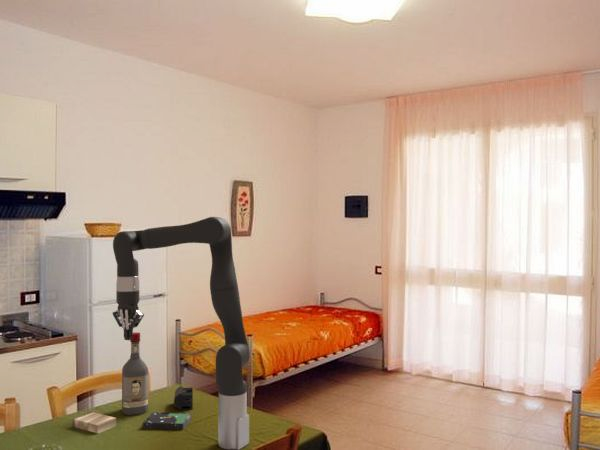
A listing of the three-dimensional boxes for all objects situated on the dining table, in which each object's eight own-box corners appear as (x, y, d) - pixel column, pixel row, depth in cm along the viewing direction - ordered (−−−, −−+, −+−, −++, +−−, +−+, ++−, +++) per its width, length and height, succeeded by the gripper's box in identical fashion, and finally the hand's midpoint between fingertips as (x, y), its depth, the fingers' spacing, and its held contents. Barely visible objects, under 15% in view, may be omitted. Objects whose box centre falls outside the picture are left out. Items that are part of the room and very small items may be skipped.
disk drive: (142, 430, 184) (183, 431, 184) (142, 422, 184) (183, 423, 184) (152, 419, 195) (191, 420, 194) (152, 412, 195) (191, 412, 194)
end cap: (174, 402, 211) (174, 386, 211) (192, 401, 213) (192, 385, 213) (173, 411, 202) (173, 394, 202) (192, 410, 203) (192, 392, 203)
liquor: (121, 408, 204) (121, 332, 204) (145, 405, 208) (146, 330, 208) (123, 416, 196) (123, 336, 196) (148, 413, 199) (148, 334, 199)
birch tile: (116, 417, 187) (91, 411, 193) (98, 425, 180) (72, 418, 186) (116, 426, 187) (91, 419, 193) (98, 434, 180) (72, 427, 186)
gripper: (150, 289, 179) (150, 339, 179) (122, 287, 185) (122, 335, 185) (133, 291, 173) (134, 343, 173) (105, 289, 179) (105, 340, 179)
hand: (128, 339), depth 179 cm, fingers closed
